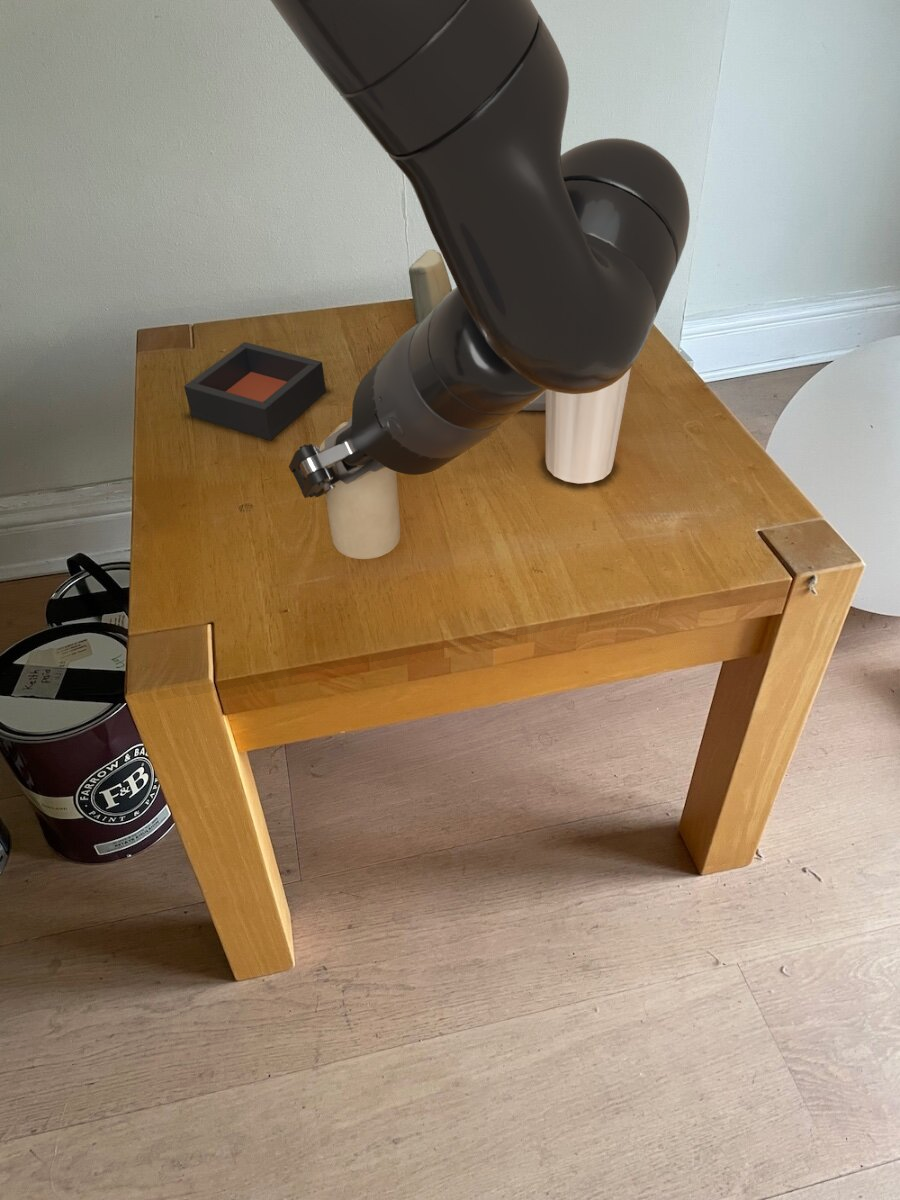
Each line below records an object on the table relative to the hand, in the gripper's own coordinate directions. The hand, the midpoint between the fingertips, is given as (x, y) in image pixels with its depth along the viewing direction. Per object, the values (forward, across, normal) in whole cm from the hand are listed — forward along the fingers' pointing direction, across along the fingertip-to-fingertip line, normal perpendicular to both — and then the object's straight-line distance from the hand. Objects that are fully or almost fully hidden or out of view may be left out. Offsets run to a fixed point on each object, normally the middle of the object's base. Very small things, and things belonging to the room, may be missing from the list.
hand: (347, 468), depth 68 cm
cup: (+5, -24, +8) cm, 25 cm away
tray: (+26, -5, -13) cm, 29 cm away
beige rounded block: (+28, -30, -14) cm, 43 cm away
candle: (+3, 0, +5) cm, 6 cm away
